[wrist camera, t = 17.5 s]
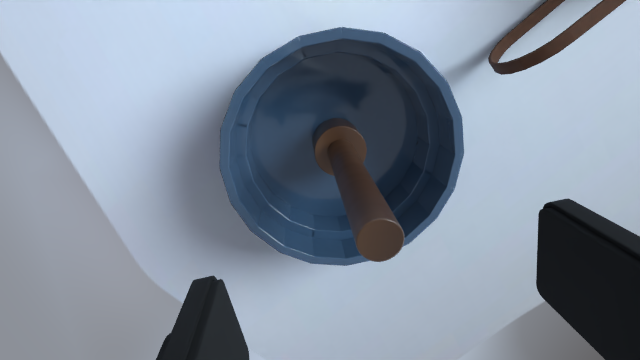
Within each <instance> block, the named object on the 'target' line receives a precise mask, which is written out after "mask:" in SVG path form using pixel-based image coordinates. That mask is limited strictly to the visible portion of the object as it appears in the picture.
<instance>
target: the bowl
mask: <svg viewBox="0 0 640 360" xmlns="http://www.w3.org/2000/svg"><path fill="white" fill-rule="evenodd" d="M332 118H342V119H345V120H347V121H349V122H351V123H352V124H353V125H354V126H355V127H356V129H357V130H358V131H359V133H360V134H361V135H362V137H363V138H364V140H365V143H366V147H367V153H366V158H365V160H364V162H363V164H364V166H365V167H366V169H367V171H368V172H369V174H370V176H371V177H372V179H373V181H374V182H375V184H376V186H377V187H378V189H379V191H380V192H381V194H382V196H383V197H384V199H385V201H386V202H387V204H388V206H389V207H390V209H391V211H392V212H393V214H394V216H395V217H396V219H397V221H398V222H399V224H400V226H401V227H402V229H403V232H404V244H403V246H405V245H407V244H409V243H410V242H412V241H413V240H414V239H415V238H416V237H417V236H418V235H419V234H420V233H422V232H423V231H424V230H425V229H426V228H427V227H428V226H429V225H430V224H431V223H432V222H434V221H435V219H437V217H438V215H439V214H440V212H441V211H442V209H443V207H444V206H445V204H446V203H447V201H448V199H449V198H450V196H451V194H452V193H453V191H454V189H455V186H456V182H457V178H458V174H459V171H460V167H461V163H462V159H463V156H464V144H463V126H462V116H461V113H460V111H459V108H458V106H457V104H456V101H455V99H454V96H453V94H452V91H451V89H450V87H449V84H448V82H447V80H446V79H445V78H444V77H443V76H442V75H441V74H440V73H439V71H438V70H437V69H436V68H435V67H434V66H433V65H432V64H431V63H430V62H429V60H428V59H427V58H426V57H425V56H424V55H423V54H422V53H421V52H420V51H418V50H416V49H414V48H412V47H410V46H409V45H407V44H405V43H403V42H401V41H399V40H397V39H395V38H393V37H391V36H389V35H388V34H386V33H383V32H375V31H368V30H360V29H352V28H345V27H342V28H341V27H339V28H334V29H330V30H325V31H320V32H316V33H311V34H306V35H302V36H299V37H296V38H295V39H293V40H291V41H290V42H288V43H287V44H285V45H283V46H282V47H280V48H278V49H277V50H275V51H273V52H272V53H270V54H269V55H267V56H265V57H264V58H262V59H261V60H260V61H259V62H258V64H257V65H256V66H255V67H254V68H253V70H252V71H251V72H250V73H249V74H248V76H247V77H246V78H245V79H244V81H243V82H242V83H241V84H240V85H239V87H238V88H237V89H236V90H235V92H234V94H233V97H232V99H231V102H230V105H229V108H228V110H227V113H226V116H225V118H224V121H223V124H222V126H221V130H220V171H221V174H222V177H223V181H224V184H225V187H226V190H227V193H228V196H229V199H230V202H231V204H232V206H233V207H234V208H235V210H236V211H237V213H238V214H239V215H240V217H241V218H242V219H243V221H244V222H245V223H246V225H247V226H248V228H249V229H250V230H251V231H252V232H253V233H254V234H255V235H257V236H258V237H260V238H261V239H262V240H264V241H265V242H266V243H268V244H269V245H270V246H272V247H273V248H275V249H276V250H277V251H279V252H280V253H283V254H286V255H289V256H291V257H294V258H297V259H300V260H303V261H306V262H308V263H312V264H327V265H343V266H345V265H346V266H347V265H352V264H356V263H361V262H366V261H371V260H368V259H366V258H364V257H363V256H362V255H361V254H360V253H359V251H358V249H357V247H356V244H355V240H354V237H353V234H352V231H351V228H350V224H349V221H348V218H347V215H346V212H345V208H344V205H343V202H342V199H341V195H340V192H339V189H338V186H337V183H336V179H335V176H332V175H330V174H327V173H326V172H324V171H323V170H322V169H321V168H320V167H319V165H318V164H317V162H316V159H315V155H314V149H313V135H314V133H315V131H316V129H317V128H318V126H319V125H320V124H321V123H323V122H324V121H326V120H329V119H332Z"/></svg>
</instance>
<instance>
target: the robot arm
mask: <svg viewBox="0 0 640 360" xmlns="http://www.w3.org/2000/svg"><path fill="white" fill-rule="evenodd" d="M536 285H537V289H538V292H539V293H540V295H541V296H542V298H543V299H544V300H545V301H546V302H548V304H550V305H551V307H553V308H554V309H555V310H556V311H557V312H558V313H559V314H560V315H561V316H562V317H563V318H564V319H565V320H566V321H567V322H568V323H569V324H570V325H571V326H572V327H573V328H574V329H575V330H576V331H577V332H578V333H579V334H580V335H581V336H582V337H583V338H584V339H585V340H586V341H587V342H588V343H589V344H590V345H591V346H592V347H593V348H594V349H595V350H596V351H597V352H598V353H599V354H600V355H601V356H602V357H603V358H604V359H605V360H640V237H639V236H637V235H636V234H634V233H632V232H630V231H628V230H626V229H624V228H623V227H621V226H619V225H617V224H615V223H613V222H611V221H610V220H608V219H606V218H604V217H602V216H600V215H599V214H597V213H595V212H593V211H591V210H589V209H587V208H586V207H584V206H582V205H580V204H578V203H576V202H574V201H573V200H570V199H563V200H558V201H554V202H549V203H546V204H545V205H544V207H543V209H542V210H540V212H539V221H538V250H537V280H536ZM156 360H249V351H248V347H247V344H246V342H245V339H244V336H243V333H242V331H241V328H240V325H239V322H238V320H237V317H236V314H235V311H234V309H233V306H232V303H231V300H230V298H229V295H228V292H227V290H226V287H225V284H224V282H223V280H221V279H220V280H217V279H216V277H215V276H210V277H205V278H201V279H196V280H193V282H192V284H191V286H190V289H189V291H188V293H187V296H186V298H185V301H184V303H183V306H182V308H181V311H180V313H179V315H178V318H177V320H176V323H175V325H174V327H173V330H172V332H171V333H170V334H169V335H168V336H167V337H166V338H165V340H164V342H163V345H162V347H161V349H160V352H159V354H158V357H157V358H156Z"/></svg>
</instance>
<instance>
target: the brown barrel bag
mask: <svg viewBox="0 0 640 360" xmlns="http://www.w3.org/2000/svg"><path fill="white" fill-rule="evenodd" d="M564 1H565V0H547V1H546V2H545V3H543V4H542V5H541V6H540V7H539V8H537V9H536V10H535V11H534V12H533V13H532V14H530V15H529V16H528V17H527V18H526V19H524V20H523V21H522V22H521V23H520V24H518V25H517V26H516V27H515V28H514V29H513V30H511V31H510V32H509V33H508V34H507V35H506V36H505V37H504V38H503V39H502V40H500V41H499V42H498V43H497V45H496V46H495V47H494V48H493V50H492V51H491V53H490V55H489V58H488V59H489V63H490V65H491V66H492V68H493V69H494V71H495V72H497V73H499V74H512V73H515V72H519V71H522V70H525V69H528V68H530V67H532V66H534V65H537V64H539V63H541V62H543V61H545V60H546V59H548V58H550V57H552V56H553V55H555V54H557V53H558V52H560V51H561V50H563V49H564V48H565V47H567V46H568V45H570V44H571V43H572V42H574V41H575V40H576V39H578V38H579V37H580V36H581V35H583V34H584V33H585V32H587V31H588V30H589V29H590V28H592V27H593V26H594V25H595V24H597V23H598V22H599V21H601V20H602V19H603V18H604V17H606V16H607V15H608V14H609V13H611V12H612V11H613V10H615V9H616V8H617V7H618V6H620V5H621V4H622V3H623V2H625V1H626V0H603V1H601V2H600V3H599V4H598V5H596V6H595V7H594V8H593V9H591V10H590V11H589V12H588V13H586V14H585V15H584V16H582V17H581V18H580V19H579V20H577V21H576V22H575V23H574V24H572V25H571V26H570V27H569V28H567V29H566V30H565V31H563V32H562V33H561V34H559V35H558V36H557V37H555V38H554V39H553V40H551V41H550V42H548V43H546V44H545V45H543V46H541V47H540V48H538V49H536V50H535V51H533V52H531V53H529V54H526V55H524V56H522V57H520V58H517V59H514V60H511V61H508V62H504V63H498V61H499V59H500V57H501V56H502V55H503V54H504V52H505V51H506V50H507V49H508V48H509V47H510V46H511V45H512V44H513V43H515V42H516V41H517V40H518V39H519V38H520V37H522V36H523V35H524V34H525V33H526V32H528V31H529V30H530V29H531V28H532V27H534V26H535V25H536V24H537V23H538V22H540V21H541V20H542V19H543V18H544V17H546V16H547V15H548V14H549V13H550V12H552V11H553V10H554V9H555V8H556V7H558V6H559V5H560V4H561V3H562V2H564Z"/></svg>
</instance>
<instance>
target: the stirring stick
mask: <svg viewBox="0 0 640 360" xmlns="http://www.w3.org/2000/svg"><path fill="white" fill-rule="evenodd" d="M313 149H314V155H315V159H316V162H317V164H318V165H319V167H320V168H321V169H322V170H323V171H324V172H326V173H327V174H330V175H332V176H335V179H336V183H337V186H338V189H339V192H340V195H341V199H342V202H343V205H344V208H345V212H346V215H347V218H348V221H349V224H350V228H351V231H352V234H353V237H354V240H355V244H356V247H357V249H358V251H359V253H360V254H361V255H362V256H363V257H364V258H366V259H368V260H371V261H376V262H381V261H386V260H389V259H391V258H393V257H394V256H395V255H397V254H398V253H399V251H400V250H401V248H402V247H403V244H404V232H403V229H402V227H401V226H400V224H399V222H398V221H397V219H396V217H395V216H394V214H393V212H392V211H391V209H390V207H389V206H388V204H387V202H386V201H385V199H384V197H383V196H382V194H381V192H380V191H379V189H378V187H377V186H376V184H375V182H374V181H373V179H372V177H371V176H370V174H369V172H368V171H367V169H366V167H365V166H364V164H363V162H364V160H365V158H366V153H367V147H366V143H365V140H364V138H363V137H362V135H361V134H360V133H359V131H358V130H357V129H356V127H355V126H354V125H353V124H352V123H351V122H349V121H347V120H345V119H342V118H332V119H329V120H326V121H324V122H323V123H321V124H320V125H319V126H318V128H317V129H316V131H315V133H314V135H313Z"/></svg>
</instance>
